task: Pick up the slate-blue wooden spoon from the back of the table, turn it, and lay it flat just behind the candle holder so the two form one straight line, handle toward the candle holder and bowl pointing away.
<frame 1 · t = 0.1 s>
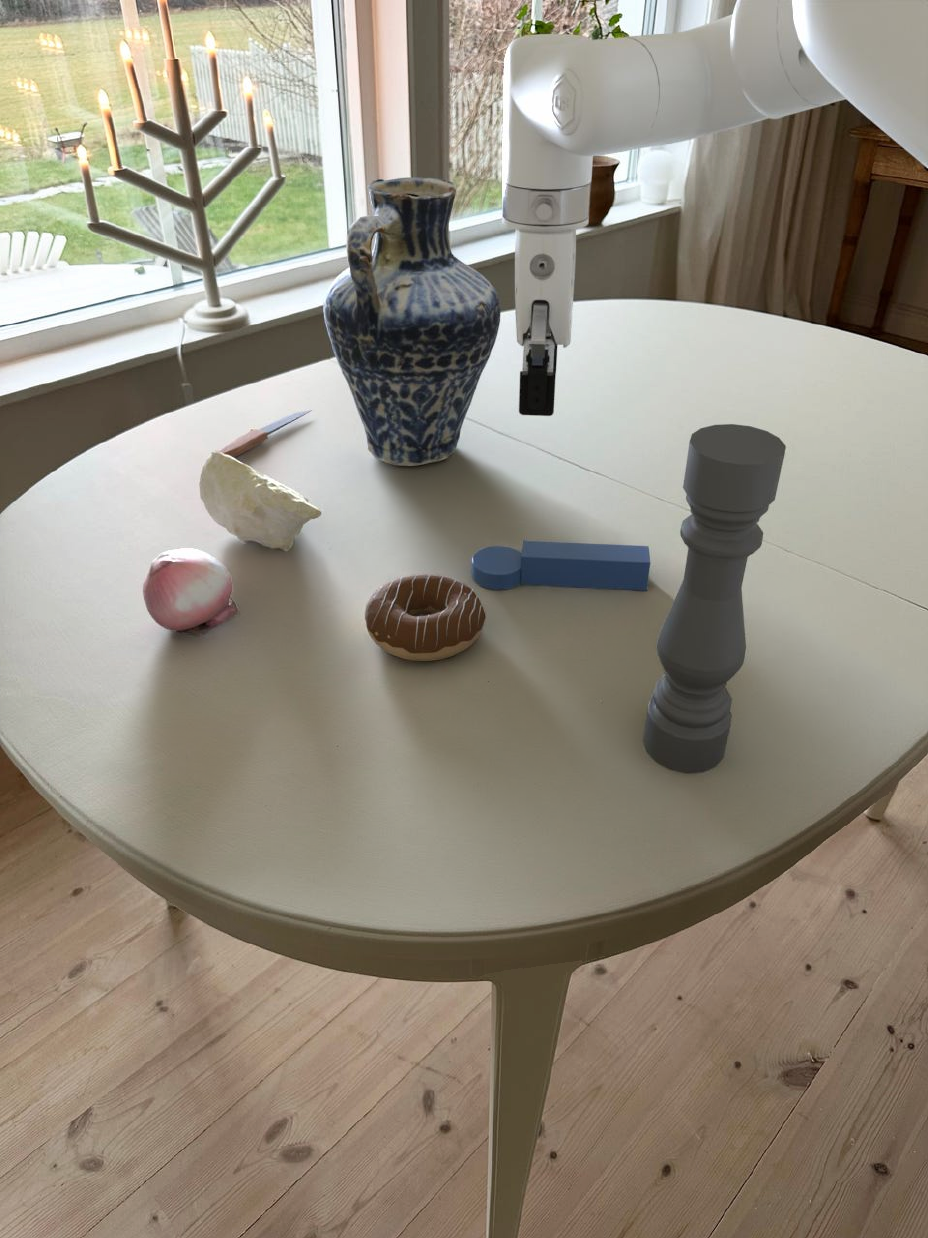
hand: (538, 393, 89), 14 cm above the table, tool pointing down, fingers open, 9 cm apart
candle holder: (683, 745, 71), on the table
jug: (416, 454, 112), on the table
spoon: (583, 579, 89), on the table
cheese: (283, 539, 96), on the table
donut: (425, 635, 82), on the table
knife: (262, 436, 116), on the table
onion: (197, 622, 84), on the table
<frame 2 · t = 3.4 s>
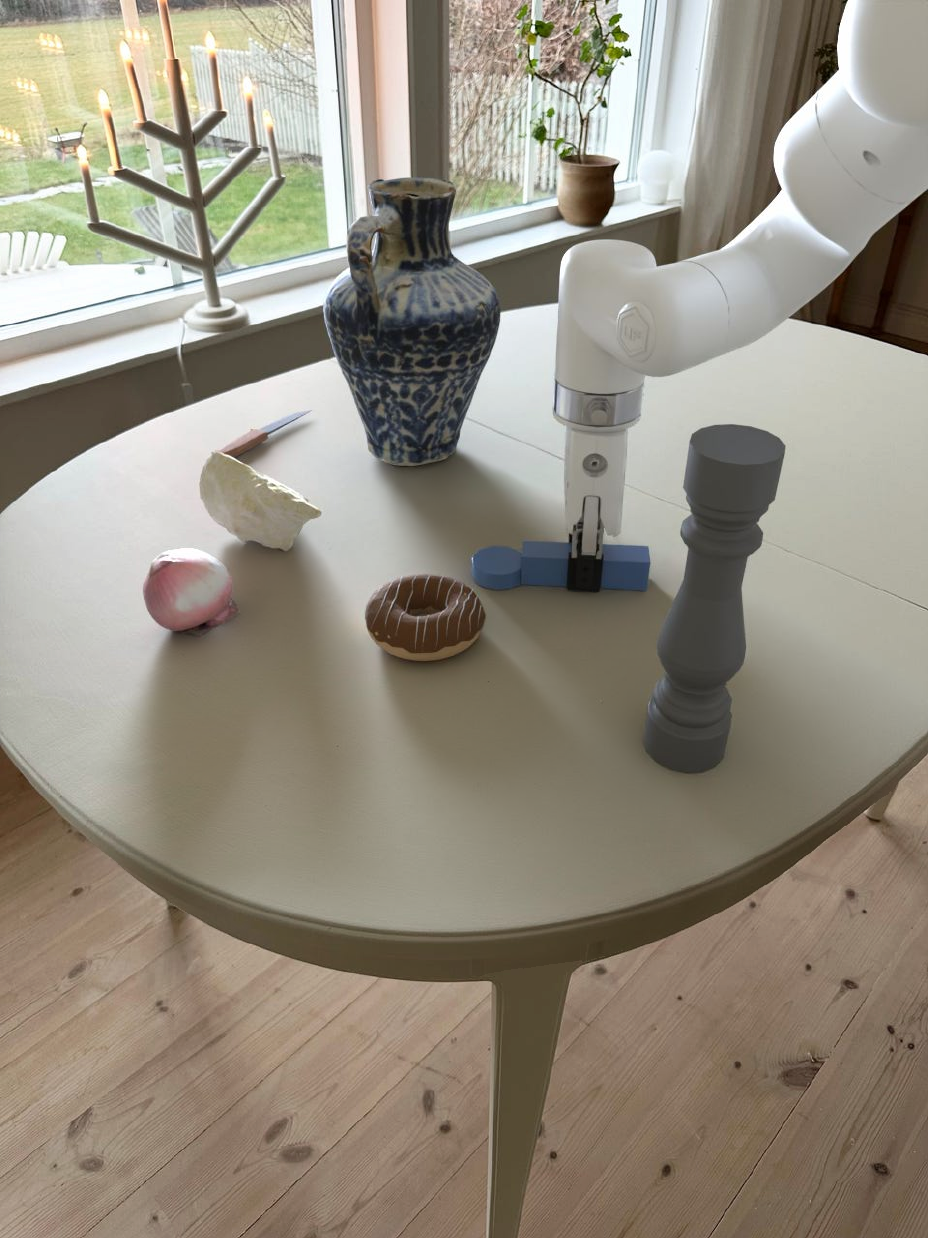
hand: (583, 577, 89), 0 cm above the table, tool pointing down, fingers closed on spoon, 3 cm apart
spoon: (583, 579, 89), on the table, touching gripper
everything else where it was.
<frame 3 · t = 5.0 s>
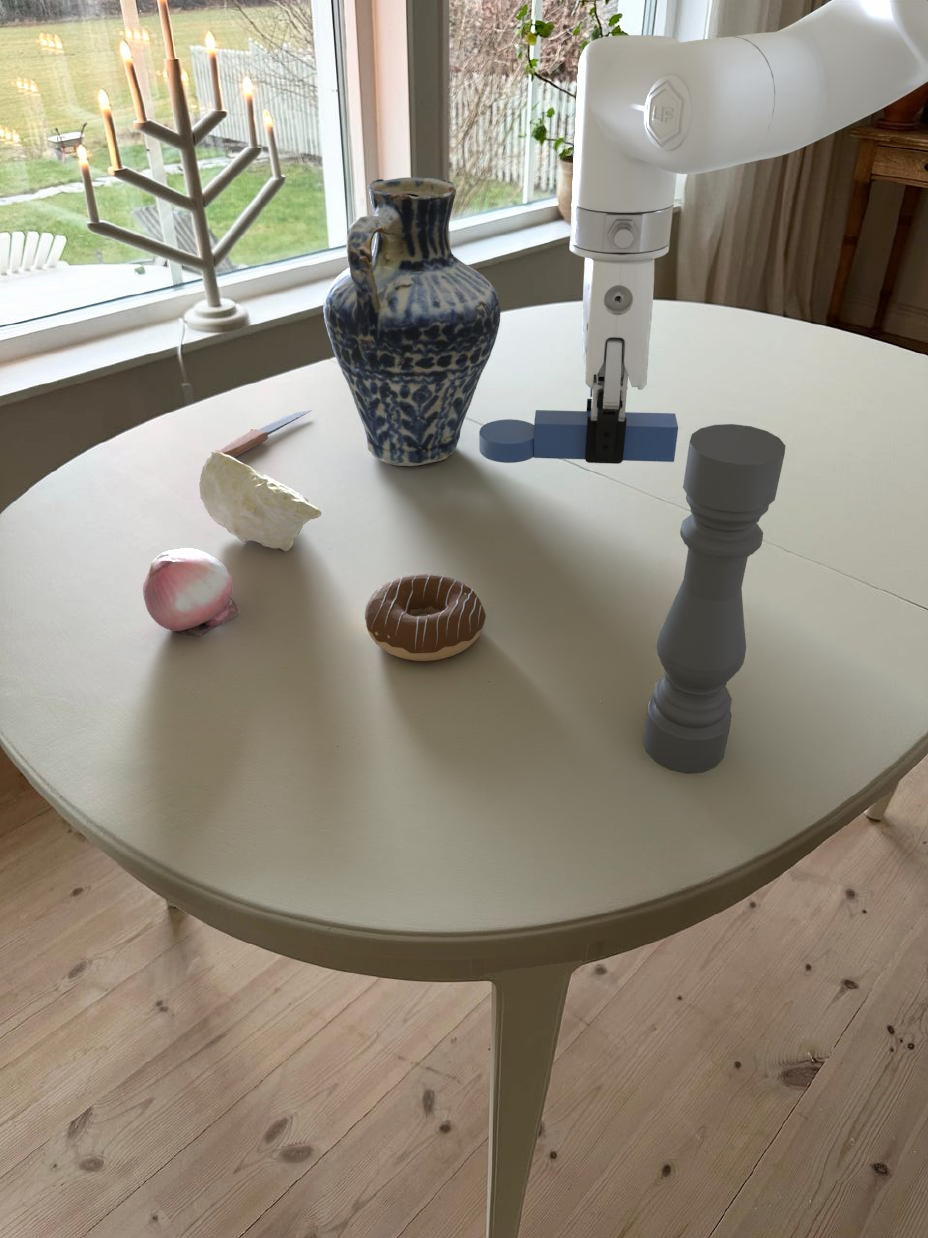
hand: (603, 450, 80), 14 cm above the table, tool pointing down, fingers closed on spoon, 3 cm apart
spoon: (602, 452, 80), point 14 cm above the table, touching gripper
everything else where it was.
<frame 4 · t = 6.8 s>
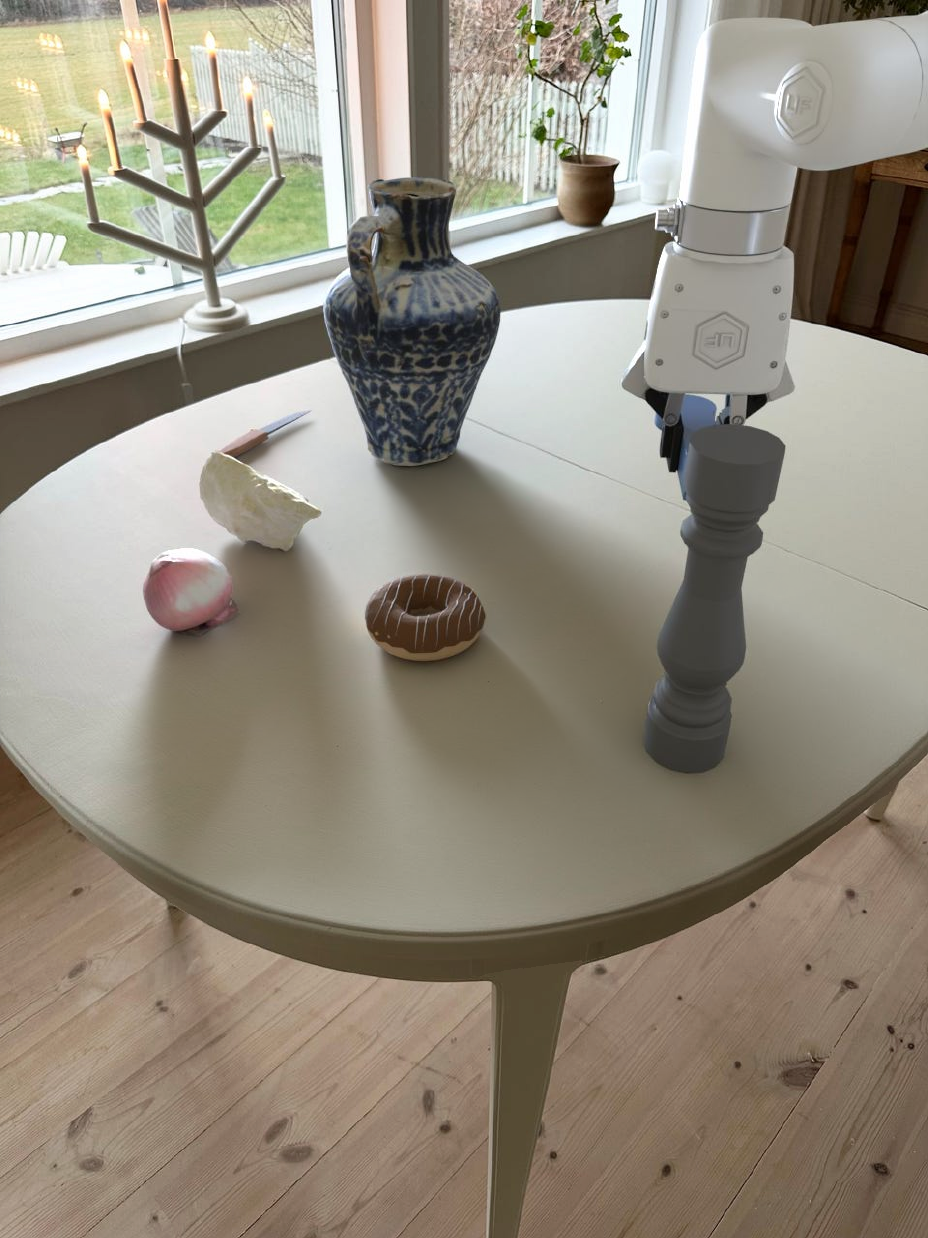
hand: (694, 463, 75), 15 cm above the table, tool pointing down, fingers closed on spoon, 3 cm apart
spoon: (694, 466, 75), point 15 cm above the table, touching gripper
everything else where it was.
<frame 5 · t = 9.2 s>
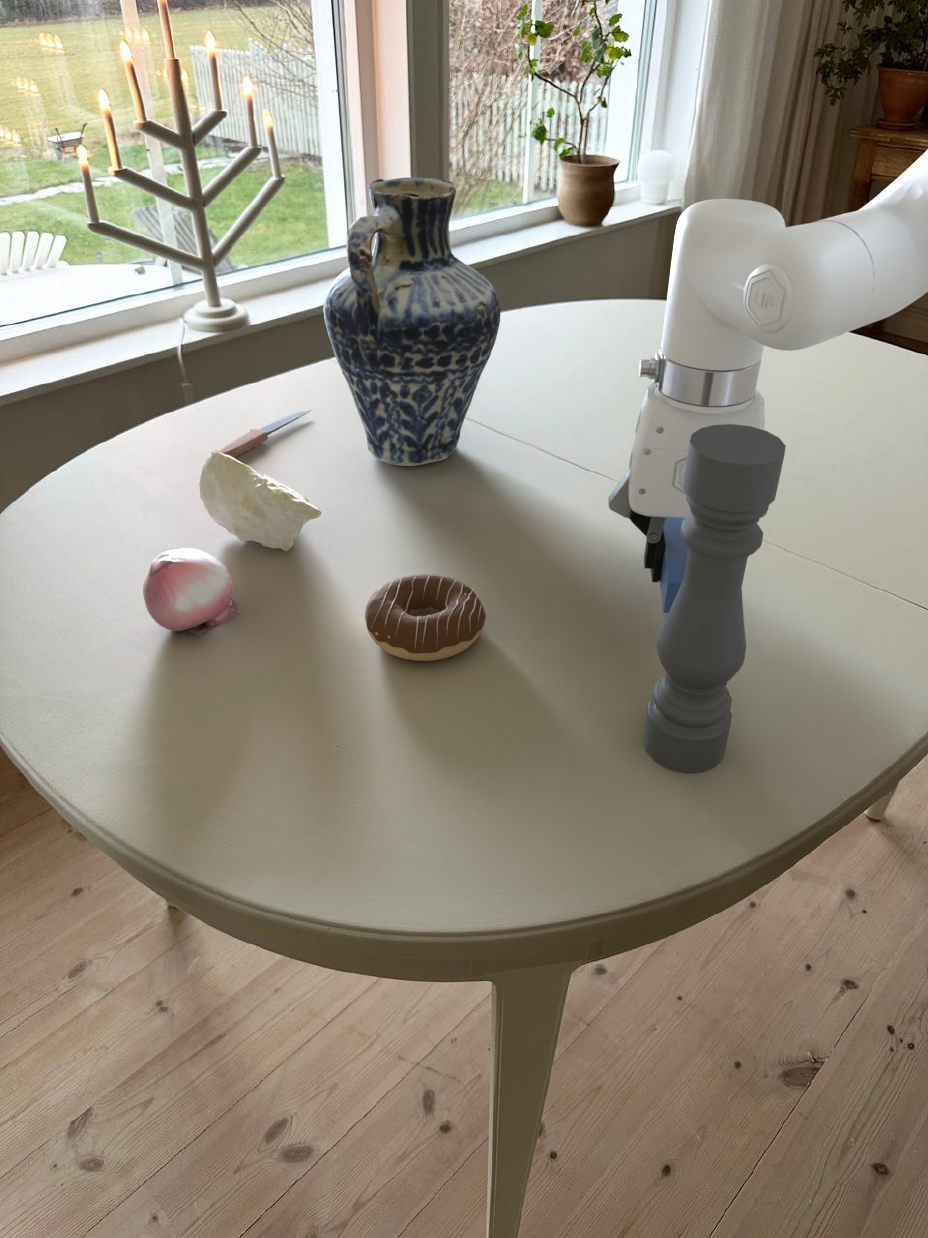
hand: (675, 573, 82), 4 cm above the table, tool pointing down, fingers closed on spoon, 3 cm apart
spoon: (675, 575, 82), point 4 cm above the table, touching gripper
everything else where it was.
when the fingers open (0 cm above the table, at t = 10.5 s): spoon stays where it is, on the table.
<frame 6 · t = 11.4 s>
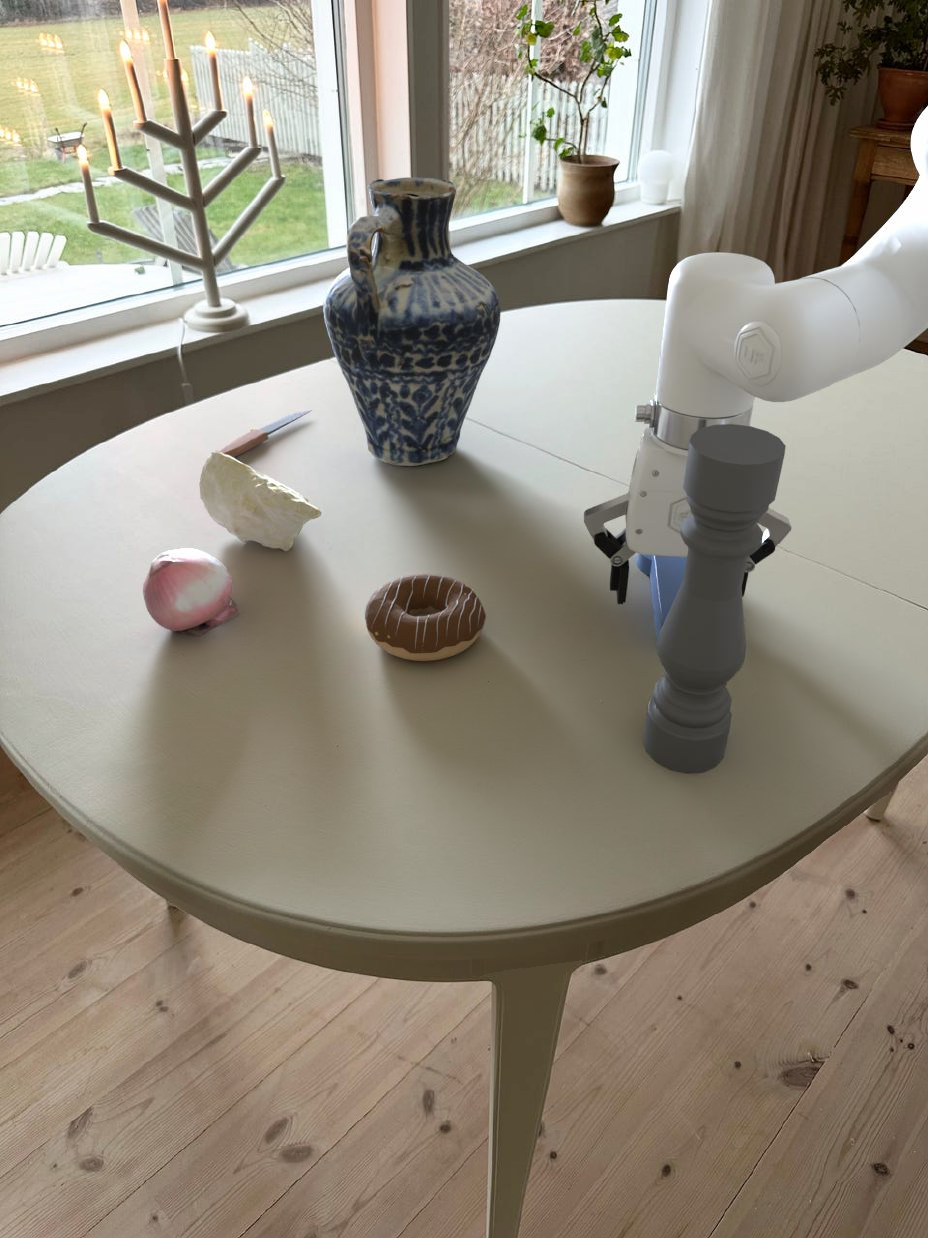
hand: (674, 598, 83), 2 cm above the table, tool pointing down, fingers open, 9 cm apart
spoon: (670, 613, 84), on the table
everything else where it was.
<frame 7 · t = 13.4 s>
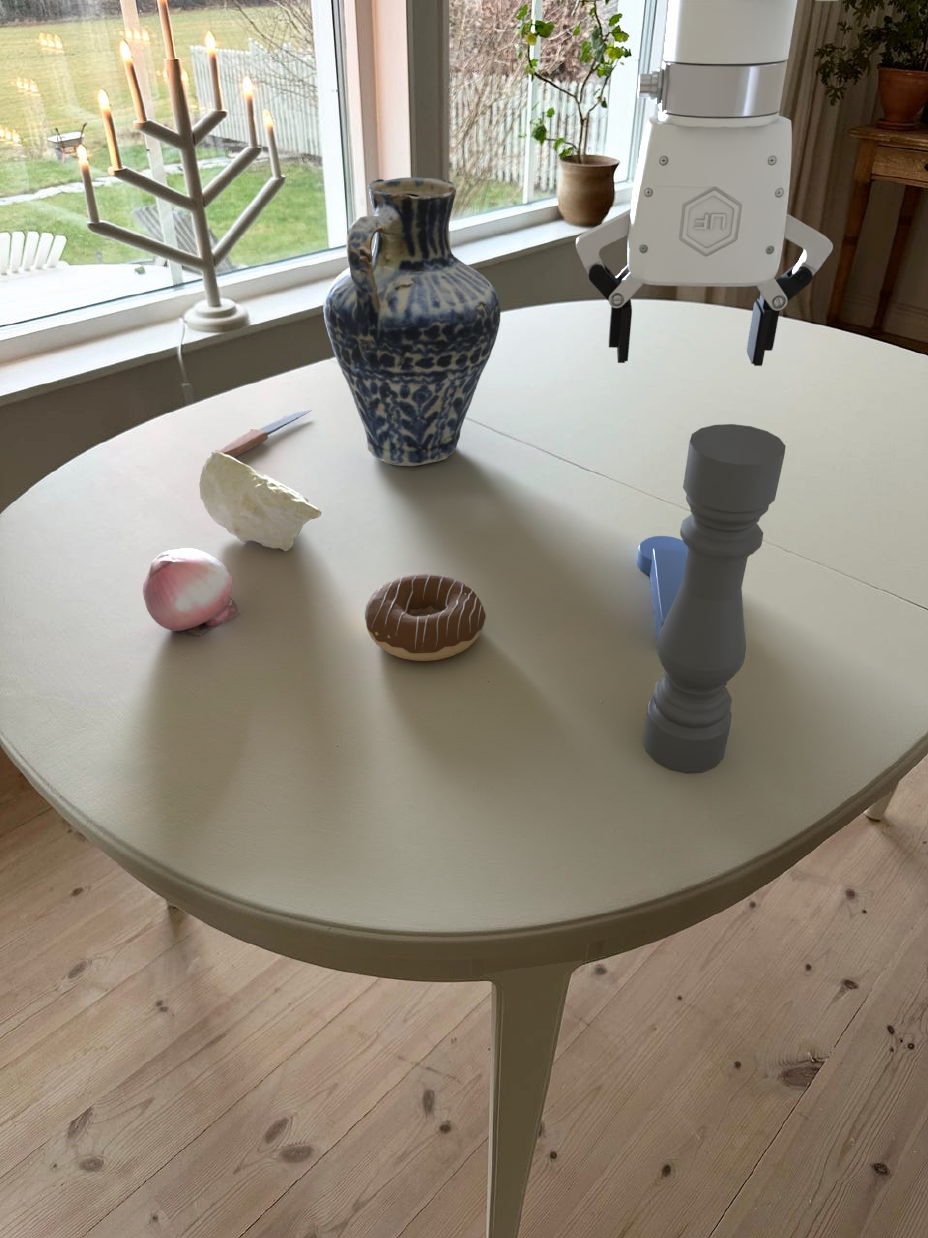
hand: (687, 357, 68), 25 cm above the table, tool pointing down, fingers open, 9 cm apart
nothing on the table moved.
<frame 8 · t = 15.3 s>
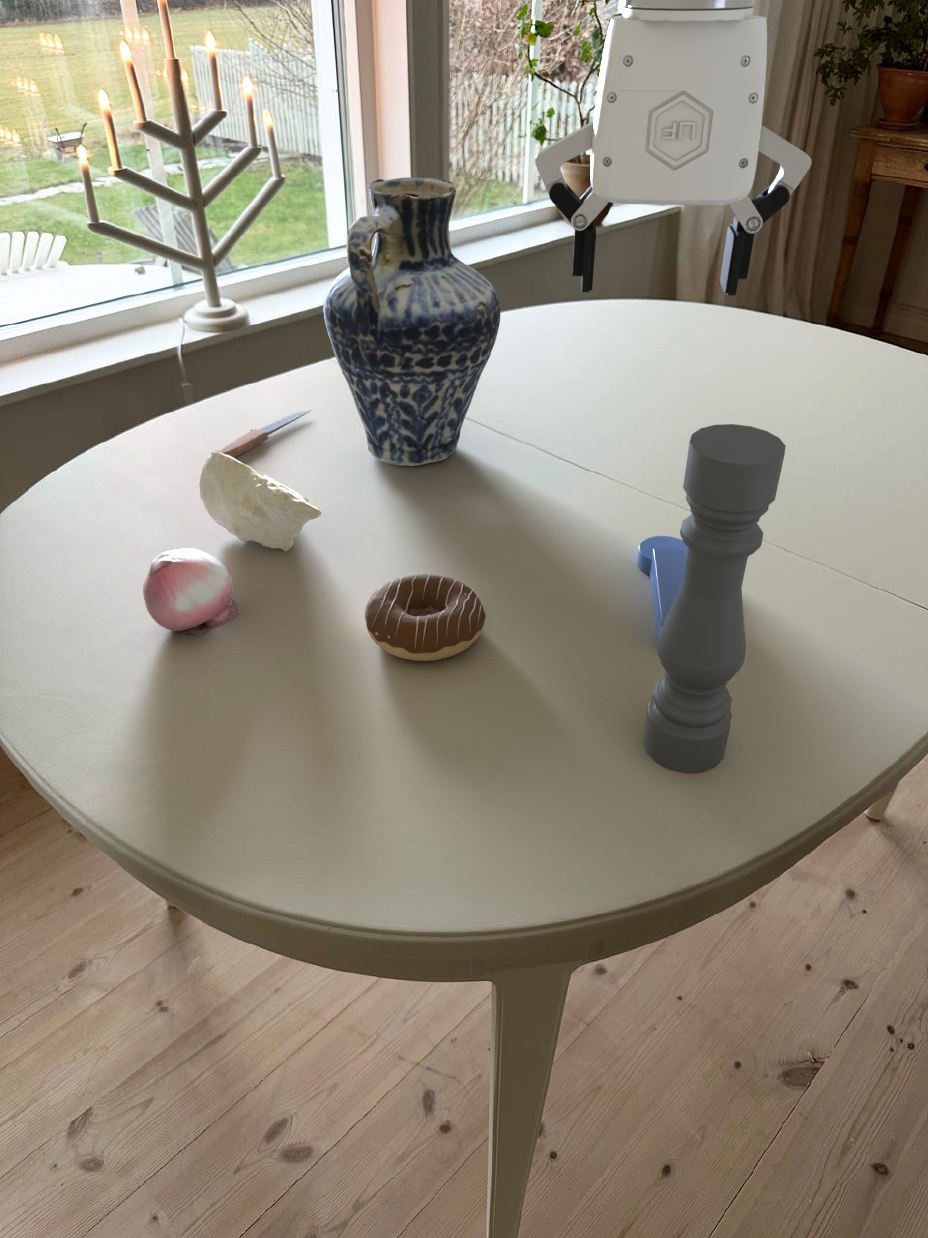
hand: (656, 288, 64), 30 cm above the table, tool pointing down, fingers open, 9 cm apart
nothing on the table moved.
at the end: spoon 0.4 cm from the target spot on the table beside the candle holder, on the table; spoon tilted 0°; the gripper is holding nothing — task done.
